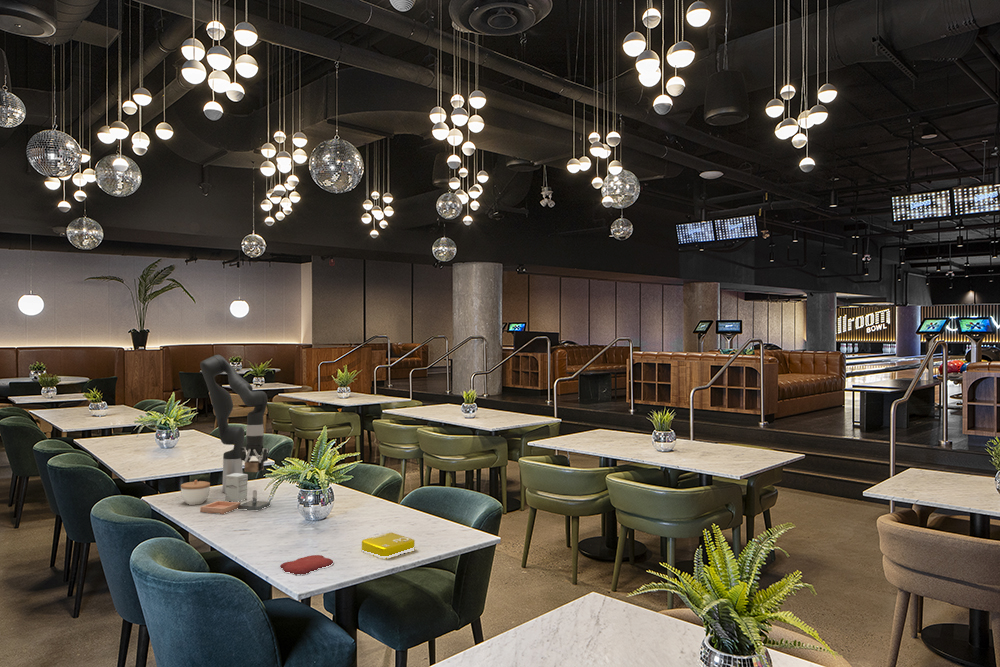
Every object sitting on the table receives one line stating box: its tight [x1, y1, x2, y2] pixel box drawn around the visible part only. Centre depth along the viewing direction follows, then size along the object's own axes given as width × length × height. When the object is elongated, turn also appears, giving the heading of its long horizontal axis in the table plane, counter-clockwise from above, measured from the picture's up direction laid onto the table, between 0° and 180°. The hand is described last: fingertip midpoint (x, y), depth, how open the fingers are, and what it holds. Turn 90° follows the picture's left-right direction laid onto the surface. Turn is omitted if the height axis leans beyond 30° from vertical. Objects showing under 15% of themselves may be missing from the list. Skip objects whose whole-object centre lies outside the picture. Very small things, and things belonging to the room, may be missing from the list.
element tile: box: [361, 532, 416, 556], centre depth 234 cm, size 15×15×5 cm
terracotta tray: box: [199, 500, 242, 515], centre depth 287 cm, size 12×12×2 cm
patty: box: [280, 554, 334, 575], centre depth 216 cm, size 18×14×2 cm
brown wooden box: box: [243, 460, 265, 473], centre depth 293 cm, size 6×6×4 cm
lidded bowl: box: [180, 479, 211, 506], centre depth 300 cm, size 13×13×11 cm
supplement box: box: [224, 473, 249, 502], centre depth 306 cm, size 7×7×13 cm
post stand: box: [237, 489, 271, 511], centre depth 292 cm, size 10×10×8 cm
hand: (254, 470), depth 293 cm, fingers closed on brown wooden box, 6 cm apart
